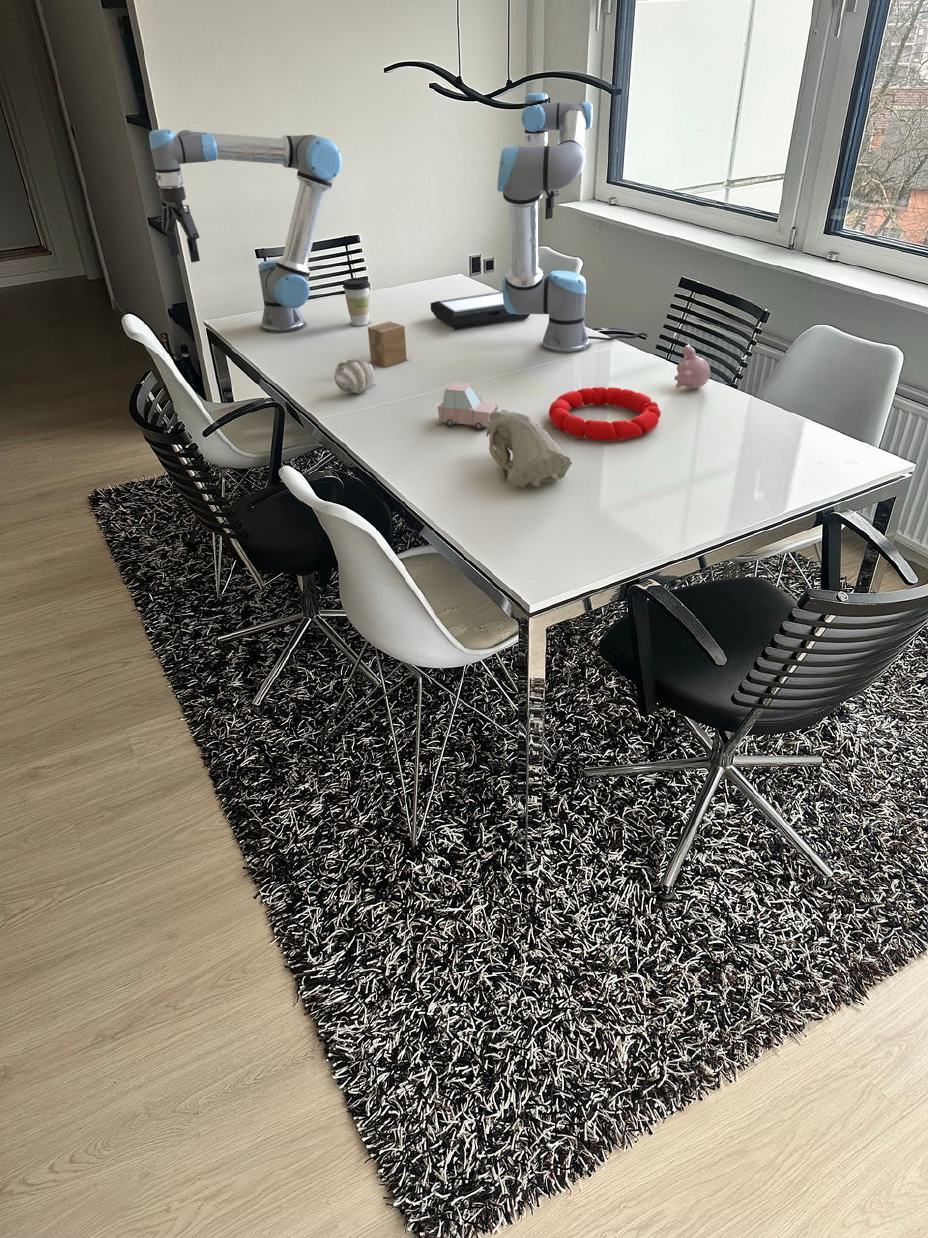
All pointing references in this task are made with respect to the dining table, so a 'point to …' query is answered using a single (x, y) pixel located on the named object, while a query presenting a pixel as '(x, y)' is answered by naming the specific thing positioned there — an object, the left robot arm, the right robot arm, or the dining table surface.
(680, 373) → the figurine
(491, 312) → the electronic device
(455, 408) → the toy car
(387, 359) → the brown wooden block
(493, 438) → the animal skull
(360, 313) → the coffee cup
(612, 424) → the decorative ring
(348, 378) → the seashell
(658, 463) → the dining table surface
